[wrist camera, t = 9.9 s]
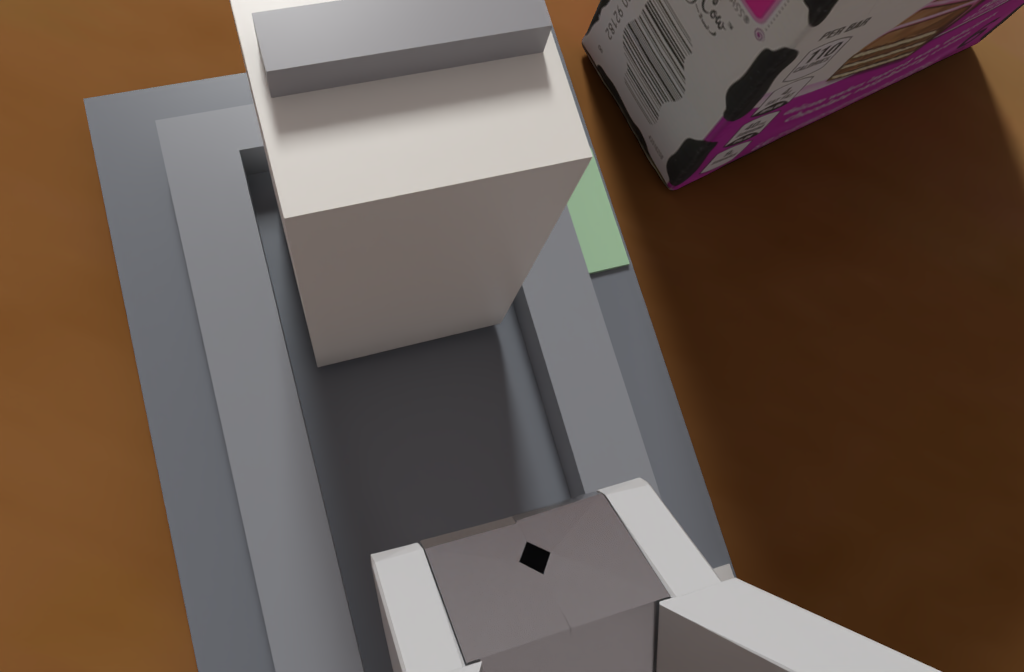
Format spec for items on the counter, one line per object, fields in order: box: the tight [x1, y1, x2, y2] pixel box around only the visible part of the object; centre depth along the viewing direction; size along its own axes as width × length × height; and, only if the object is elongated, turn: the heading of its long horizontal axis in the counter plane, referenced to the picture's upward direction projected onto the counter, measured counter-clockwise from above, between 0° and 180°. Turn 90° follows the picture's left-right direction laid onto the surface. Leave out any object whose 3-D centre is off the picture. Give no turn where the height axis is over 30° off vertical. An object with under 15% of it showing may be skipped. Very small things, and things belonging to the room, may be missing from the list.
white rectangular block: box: [230, 0, 593, 367], centre depth 15 cm, size 4×4×9 cm
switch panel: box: [84, 25, 737, 672], centre depth 18 cm, size 20×11×2 cm, turn 17°
